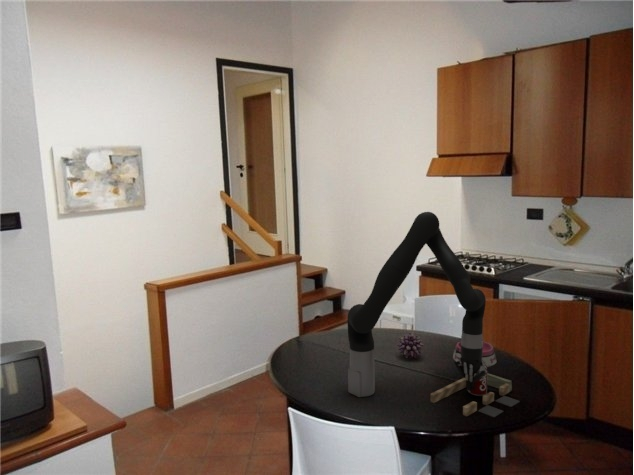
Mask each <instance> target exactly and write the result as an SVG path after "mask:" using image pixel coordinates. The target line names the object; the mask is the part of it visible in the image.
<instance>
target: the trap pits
mask: <svg viewBox="0 0 634 475" xmlns="http://www.w3.org/2000/svg"><path fill="white" fill-rule="evenodd" d="M494 402H496V403H499V404H502V405H505V406H507V407H509V408H512V407H514V406H515V405H517V404H519V403H520V402H521V401H520V400H519V399H515V398H514V397H513V398H512V397H510V396H506V395H504V396H501V397H500V398H498V399H496V400H494ZM477 412H479V413H482V414H484V415H486V416H489V417H491V418H496V417H497V416H499V415H500V414H502V413H504V410H502V409H499V408H497V407H494V406H491V405H490V404H488V405H484V407H482V408H479V409H477Z"/></svg>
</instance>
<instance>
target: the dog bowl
mask: <svg viewBox="0 0 634 475" xmlns="http://www.w3.org/2000/svg"><path fill="white" fill-rule="evenodd" d="M460 358H461V340H460V341H458V342H457V343H456V345H455V347H454V350H453V355H452V360H453V361H454V363H455V362H456V361H459V360H460ZM482 361H485V362H486V366H487V368H491V366H492V367H494V366H496V365H497V364H498V361H497V357H496V353H495V349H494V346H493V345H492V344H491V343H489V342H486V341H483V353H482ZM496 363H497V364H496ZM495 364H496V365H495Z"/></svg>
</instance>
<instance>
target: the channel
mask: <svg viewBox="0 0 634 475" xmlns="http://www.w3.org/2000/svg"><path fill="white" fill-rule="evenodd" d="M512 381H513V380H510V379H507V378H503V377H501V376H498V375H494V374H491V373H489V372H487V386H490V387H493V388H496V389H498V394H499V396H501V397H503V396H506V395H507V394H510V392H512V388H513V385H512V384H513V382H512ZM464 388H466V379H465V378H464V377H461V379H460V378H459V379H458V380H456V381H454V382H452V383H450V384H448V385H445V386H444V387H442V388H439V389H437V390H435V391H433V392H431V393H430V400H429V401H430V402H431V403H433V404H435V403H437V402H439V401H441V400H443V399H445V398H448V397H449V396H451V395H453V394H455V393H457V392H458V391H460V390H463V389H464ZM493 402H495V392H492V391H489V392H487V393H486V394H485V395H483V396H482V405H484V406H487V405H490V404H492V403H493ZM475 412H478V402H476V401H473V400H472V401H471V402H469V403H467V404H465V405H463V406H462V416H464V417H469V416H471V415H472V414H474V413H475Z"/></svg>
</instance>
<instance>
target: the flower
mask: <svg viewBox="0 0 634 475" xmlns="http://www.w3.org/2000/svg"><path fill="white" fill-rule="evenodd" d="M398 339H399V341H398V342H397V344H396V347H399V348H397V350H398V351H399V352H398V353H399V354H402V356H405V358H406V359H408V357H409V358H410V359H412V358H414V359H416V358H417V357H416V356H418V355H421V354H422V352H421V350H422V349H423V347H425V343H422V342H423V340H422V339H421V336H419V334H416V335H415V332H413V331H412V332H411V331H409V332H404V334H403V335H402V336H399V337H398ZM422 355H423V354H422Z"/></svg>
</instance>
